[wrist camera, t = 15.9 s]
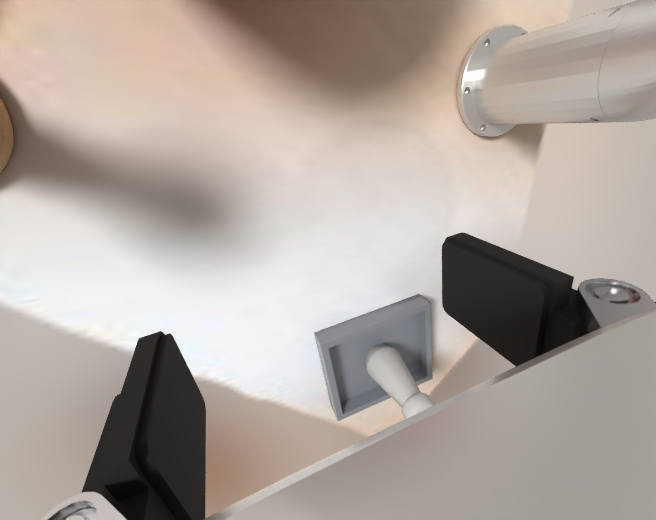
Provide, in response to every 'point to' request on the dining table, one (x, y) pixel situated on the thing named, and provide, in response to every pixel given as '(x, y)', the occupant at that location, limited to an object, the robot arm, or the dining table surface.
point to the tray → (355, 341)
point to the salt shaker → (396, 379)
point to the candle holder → (5, 136)
